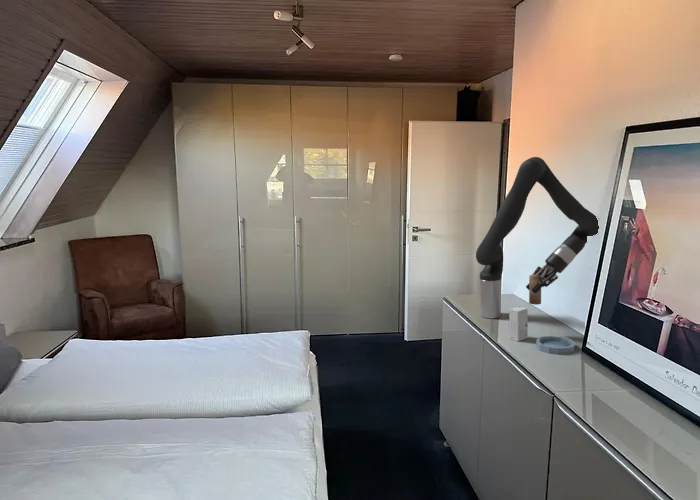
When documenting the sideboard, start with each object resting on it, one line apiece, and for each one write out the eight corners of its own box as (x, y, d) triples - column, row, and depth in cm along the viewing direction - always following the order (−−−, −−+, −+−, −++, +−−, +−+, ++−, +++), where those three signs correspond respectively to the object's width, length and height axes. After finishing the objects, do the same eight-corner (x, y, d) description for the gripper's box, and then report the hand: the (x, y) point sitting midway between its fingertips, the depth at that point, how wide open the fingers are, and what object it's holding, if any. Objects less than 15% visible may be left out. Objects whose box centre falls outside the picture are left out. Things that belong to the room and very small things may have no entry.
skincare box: (518, 341, 190) (518, 311, 188) (508, 338, 193) (508, 309, 191) (528, 338, 193) (528, 308, 191) (518, 335, 197) (518, 306, 195)
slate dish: (530, 342, 188) (530, 337, 187) (563, 340, 189) (563, 334, 188) (546, 355, 175) (546, 349, 175) (581, 352, 176) (581, 346, 176)
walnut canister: (527, 301, 197) (527, 275, 195) (537, 301, 197) (537, 274, 195) (532, 304, 192) (532, 277, 190) (543, 304, 193) (543, 276, 191)
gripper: (545, 249, 199) (516, 280, 200) (563, 255, 185) (531, 288, 186) (558, 261, 200) (528, 292, 201) (576, 268, 186) (545, 301, 187)
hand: (530, 290), depth 194 cm, fingers closed on walnut canister, 4 cm apart
